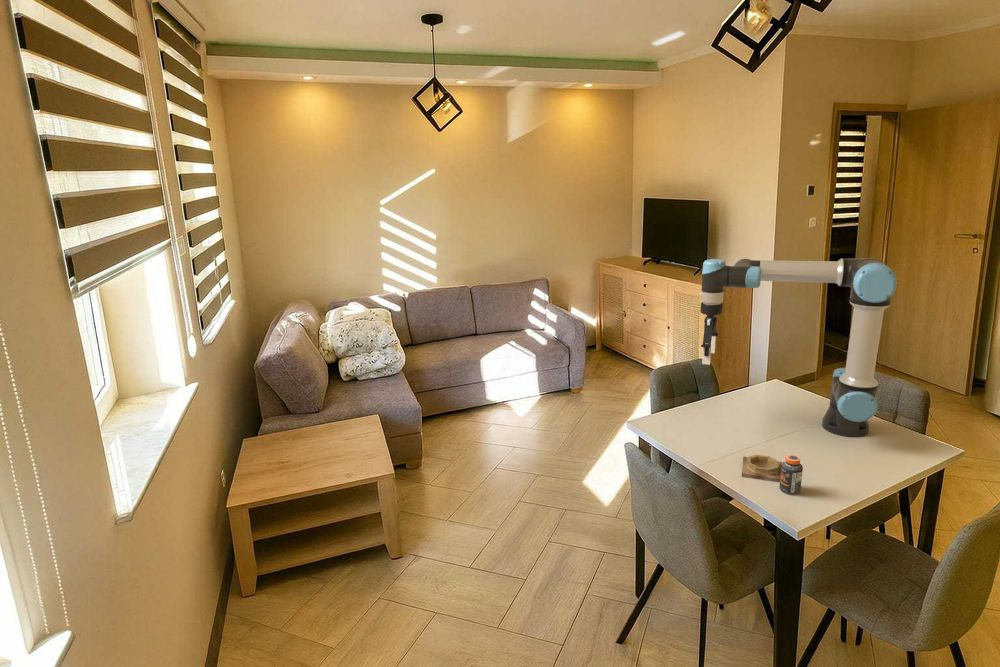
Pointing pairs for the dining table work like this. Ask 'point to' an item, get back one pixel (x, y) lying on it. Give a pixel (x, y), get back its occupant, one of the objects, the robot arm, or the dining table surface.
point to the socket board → (761, 468)
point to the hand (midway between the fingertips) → (708, 358)
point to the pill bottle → (791, 475)
